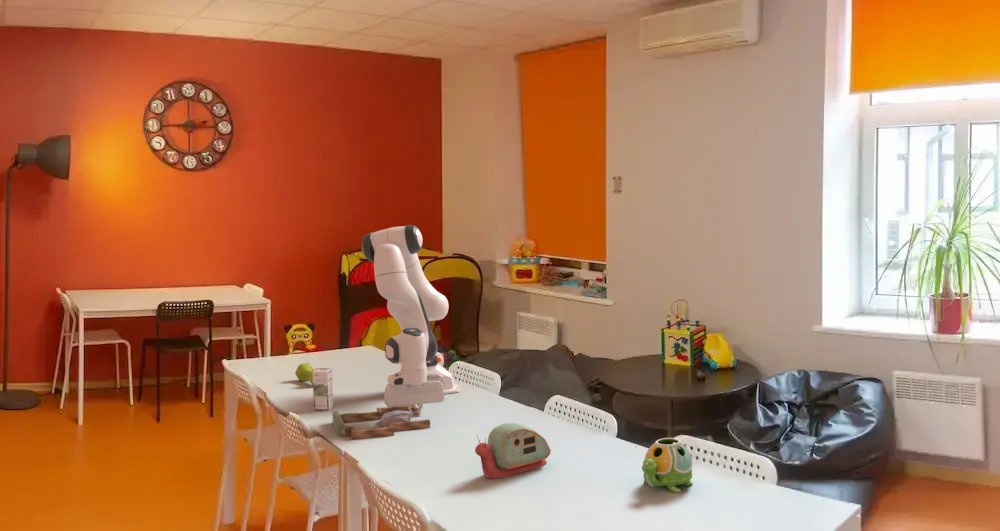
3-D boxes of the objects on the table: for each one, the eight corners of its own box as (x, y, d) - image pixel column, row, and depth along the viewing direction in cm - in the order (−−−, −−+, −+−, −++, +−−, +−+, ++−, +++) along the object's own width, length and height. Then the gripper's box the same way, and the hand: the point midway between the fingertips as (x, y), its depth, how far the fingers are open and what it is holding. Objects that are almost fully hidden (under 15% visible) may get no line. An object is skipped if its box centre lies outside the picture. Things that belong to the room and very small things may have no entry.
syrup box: (333, 406, 327) (332, 367, 326) (329, 410, 322) (327, 370, 320) (318, 406, 328) (316, 367, 327) (313, 410, 322) (311, 370, 321)
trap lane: (416, 411, 319) (416, 400, 318) (433, 431, 293) (432, 419, 293) (331, 419, 310) (330, 407, 310) (340, 440, 285) (339, 428, 284)
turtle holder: (624, 491, 235) (623, 446, 234) (662, 473, 249) (662, 431, 247) (664, 502, 227) (664, 456, 226) (701, 483, 240) (702, 439, 239)
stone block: (381, 434, 297) (410, 428, 297) (378, 420, 297) (407, 414, 297) (384, 426, 309) (412, 419, 309) (381, 412, 309) (409, 406, 309)
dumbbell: (330, 385, 361) (329, 368, 361) (311, 388, 356) (310, 370, 356) (312, 378, 374) (311, 361, 374) (294, 381, 370) (293, 364, 369)
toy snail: (536, 459, 263) (536, 412, 262) (554, 465, 257) (554, 417, 256) (468, 478, 248) (467, 428, 246) (485, 485, 242) (484, 434, 240)
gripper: (441, 372, 309) (442, 412, 311) (382, 377, 303) (384, 417, 305) (446, 376, 303) (447, 416, 305) (386, 381, 297) (387, 422, 299)
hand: (415, 417), depth 305 cm, fingers closed
